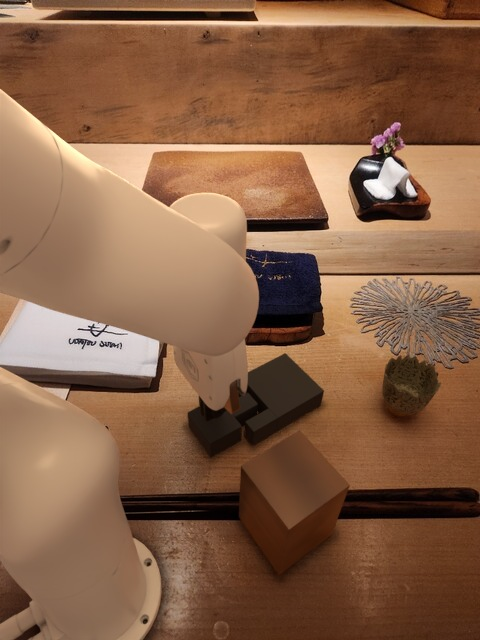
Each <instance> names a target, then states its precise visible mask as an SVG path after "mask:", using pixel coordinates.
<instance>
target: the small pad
mask: <svg viewBox="0 0 480 640" xmlns="http://www.w3.org/2000/svg"><path fill="white" fill-rule="evenodd" d="M239 402H240V410H239V411H237V412H235V413H233V414H230V413H229V412H228V411H227V410H226V411H225V412H224V413H223V415H221V416H220V417H218V418H213V419H211V420H210V421H206V420H205V419H204V416H202V415H201V414H200V408H199V406H196V407H194V408H193V409H191V410H188V411H187V423H188V424H187V425H188V428H189V429H190V431H191V432H192V434H193V436H194V437H195V438H196V440H197V441H198V442H199V444H200V445H201V447H202V448H203V449H204V451H205V452H206V454H207V455H208V456H209V458H210V459H213V458H214V457H216V456H217V455H220V454H221V453H223V452H224V451H226V450H228V449H229V448H231V447H233V446H234V445H237V444H238V443H240V442H241V441H242V431H243V430H242V429H243V427H245V422H246V421H247V420H249V419H251V418H253V417H254V416H256V415H258V403H257V402H256V401H255V400H254V399H253V398H252V397H251V395H250V394H249V393H246V394H245V395H244V396H241V397H239Z"/></svg>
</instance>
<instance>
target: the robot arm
mask: <svg viewBox="0 0 480 640" xmlns="http://www.w3.org/2000/svg"><path fill="white" fill-rule="evenodd" d="M247 221H248V220H247V216H246V212H245V211H244V209H243V207H242V206H241V205H240V204H239V203H238V201H236V200H234V199H233V198H231V197H229V196H228V195H225V194H221V193H216V192H197V193H191V194H187V195H184V196H182V197H179V198H178V199H176V200H175V201H174V202H172V204H170V206H168V205H166V204H164V203H163V202H161V201H160V200H158V199H156V198H154V197H153V196H151V195H150V194H148V193H147V192H145V191H144V190H142V189H141V188H139V187H138V186H137V185H134V184H133V183H132V182H129V181H128V180H126V179H125V178H123V177H121V176H119V174H118V175H117V174H116V173H114V172H113V171H111V170H109V169H108V168H105V167H103V166H102V165H100V164H98V163H97V162H94V160H91V159H89V158H88V157H86V156H85V155H84V154H83V153H81V152H79V151H78V150H77V149H75V148H74V147H73V146H71V145H70V143H68V142H66V141H65V140H63V138H61V137H60V136H59V135H57V133H55V132H54V131H53V130H52V129H50V128H49V127H48V126H47V125H45V124H44V123H43V122H42V121H41V120H39V119H38V118H36V117H35V116H34V115H33V114H32V113H31V112H29V111H28V110H27V109H25V107H23V106H22V105H21V104H20V103H18V102H17V101H16V100H15V99H14V98H12V97H11V96H10V95H8V94H7V93H6V92H5V91H3V89H1V88H0V294H2V295H7V296H9V297H13V298H16V299H19V300H23V301H26V302H28V303H32V304H34V305H36V306H39V307H42V308H45V309H48V310H51V311H54V312H57V313H61V314H65V315H67V316H71V317H75V318H79V319H83V320H86V321H91V322H95V323H98V324H101V325H106V326H110V327H114V328H116V329H119V330H123V331H126V332H130V333H133V334H137V335H139V336H143V337H146V338H147V339H148V338H149V339H152V340H153V341H154V340H155V341H158V342H160V343H163V344H167V345H170V346H172V348H173V349H172V350H173V359H174V363H175V365H176V367H177V369H178V370H179V371H180V373H181V374H182V376H183V377H184V378H185V380H186V381H187V382H188V384H190V386H191V387H192V389H193V391H195V393H196V394H197V395H198V407H199V408H200V414H201V415H202V416H204V419H205V420H206V421H210V420H211V419H213V418H218V417H220V416H221V415H223V413H224V412H225V411H226V410H227V411H228V412H229V413H230V414H233V413H235V412H237V411H239V410H240V402H239V396H238V392H239V393H240V395H243V396H244V395H245V393H246V390H247V383H248V372H249V369H248V367H249V366H248V353H247V343H246V338H247V337H248V335H249V333H250V332H251V330H252V328H253V326H254V324H255V321H256V318H257V315H258V310H259V305H260V304H259V302H260V291H259V286H258V281H257V278H256V275H255V274H254V271H253V269H252V267H251V266H250V265H249V263H248V262H247V239H248V238H247V235H248V233H247V232H248V224H247V223H248V222H247ZM120 470H121V455H120V448H119V445H118V442H117V440H116V438H115V437H114V435H113V433H112V432H111V431H110V430H109V429H108V428H107V427H106V426H105V425H104V424H103V423H102V422H101V421H99V420H98V419H96V418H95V417H94V416H93V415H92V414H89V412H87V411H85V410H84V409H82V408H81V407H79V406H78V405H75V404H74V403H71V402H70V401H68V400H66V399H64V398H62V397H61V396H58V395H56V394H55V393H53V392H51V391H49V390H47V389H45V388H42V387H41V386H39V385H37V384H35V383H33V382H30V381H29V380H26V379H25V378H22V377H21V376H19V375H16V374H15V373H13V372H11V371H9V370H8V369H5V368H3V367H1V366H0V562H1V564H2V566H3V568H4V569H5V571H6V572H7V573H8V575H9V576H10V577H11V578H12V579H13V580H14V581H15V583H16V584H17V585H18V586H19V587H20V588H21V589H22V590H23V591H24V592H25V593H26V594H27V595H28V596H29V598H30V599H31V601H29V606H28V607H27V608H25V609H24V610H22V611H20V612H19V613H17V614H16V613H15V614H14V615H12V616H11V617H9V618H7V619H6V620H4V621H3V622H1V623H0V640H16V639H17V638H19V637H20V636H22V635H23V634H24V633H25V632H26V631H28V630H29V629H31V628H33V627H34V626H38V627H39V630H40V632H39V633H36V635H33V636H31V637H30V638H28V639H27V640H144V639H145V638H146V636H147V634H148V633H149V632H150V630H151V629H152V627H153V625H154V622H155V621H156V618H157V615H158V612H159V609H160V605H161V601H162V600H161V599H162V593H163V589H162V577H161V572H160V569H159V566H158V563H157V560H156V559H155V557H154V555H153V553H152V552H151V550H150V549H149V548H148V547H147V546H146V545H145V544H144V543H143V542H141V541H140V540H138V539H137V538H135V537H133V533H132V530H131V527H130V524H129V521H128V518H127V516H126V512H125V510H124V506H123V504H122V500H121V496H120V490H119V489H120V488H119V483H120V482H119V481H120ZM148 564H150V565H149V566H148ZM146 620H147V622H146V623H144V621H146Z"/></svg>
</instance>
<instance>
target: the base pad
mask: <svg viewBox="0 0 480 640" xmlns="http://www.w3.org/2000/svg"><path fill="white" fill-rule="evenodd" d="M246 393H249V394H250V395H251V397H252V398H253V399H254V400H255V401H256V402H257V403H258V411H257V415H256V416H254V417H253V418H251V419H249V420H247V421H246V422H245V426H244V437H245V438H246V440H247V442H249V443H250V444H251V446H252V447H254V446H256V445H257V444H259V443H260V442H262V441H265V440H266V439H267V438H269V437H271V436H272V435H274V434H276V433H277V432H279V431H281V430H283V429H284V428H286V427H287V426H289V425H290V424H292V423H294V422H296V421H297V420H299V419H301V418H302V417H304V416H305V415H307V414H309V413H310V412H312V411H313V410H315V409H317V408H319V407H321V406H322V401H323V398H324V393H325V390H324V389H323V388H322V387H321V386H320V385H319V384H318V383H317V382H316V381H315V380H314V379H313V378H312V377H311V376H310V375H309V374H308V373H307V372H305V370H304V369H303V368H302V367H301V366H300V365H299V364H298V363H297V362H296V361H294V359H292V357H290V356H289V355H288V354H287V353H286V352H284V353H283V354H281V355H279V356H277V357H275V358H273V359H271V360H269V361H267V362H265V363H263V364H261V365H259V366H257V367H255V368H253V369H252V370H248V383H247V390H246ZM246 393H245V394H246ZM238 396H239V397H241V396H243V395H240V393H239V392H238Z"/></svg>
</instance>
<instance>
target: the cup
mask: <svg viewBox="0 0 480 640" xmlns="http://www.w3.org/2000/svg"><path fill="white" fill-rule="evenodd" d="M402 357H403V356H402V354H401V355H400V354H399V355H398V356H397V357H396V358H393V357H391V358H390V359H389V360H388V362H387V363H386V364H385V367H384V375H383V380H382V386H381V393H382V398H383V401H384V403H385V404H386V407H387V409H388V411H389V413H391V415H393V416H395V417H397V418H406V417H409V416H410V415H414V414H418V413H419V412H421V411H423V410H424V409H425V408H426V407H427V406H428V405H429V403H430V402H431V401H432V399H433V398H434V396H435V395H436V394H437V392H438V391H439V390H440V387H441V385H442V382H439V380H438V379H439V372H438V371H436V366H435V365H433V364H427V360H426V359H423V360H421V361H419V359H418V357H417V356H415V355H414V356H412V357H411V355H409V354H407V355H405V356H404V357H403V358H402Z"/></svg>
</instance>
